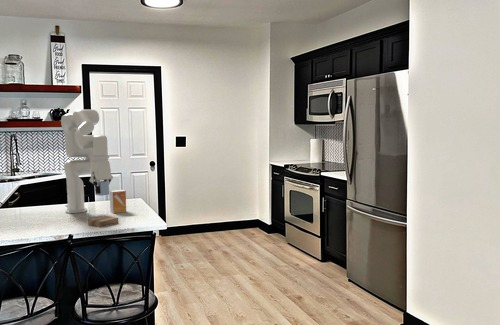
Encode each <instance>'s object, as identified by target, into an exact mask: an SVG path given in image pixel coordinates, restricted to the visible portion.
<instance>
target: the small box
mask: <svg viewBox="0 0 500 325" xmlns="http://www.w3.org/2000/svg"><path fill="white" fill-rule="evenodd" d="M126 191H127V190H125V189H115V190H109V208H110V213H113V214H117V213H118V214H119V213H126V212H127V192H126Z"/></svg>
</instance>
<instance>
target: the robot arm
mask: <svg viewBox="0 0 500 325" xmlns="http://www.w3.org/2000/svg"><path fill="white" fill-rule="evenodd" d="M99 122H100V115H99V112H98V111H97V110H95V109H76V110H75V111H73V113H66V114H64V115H62V116H61V119H60V123H61V125H60V126H61V128H62V130H63V132H64V133H63V134H64V140H65V152H66V153H65V154H66V156H67V157H68V158H70V159H71V158H72V160H67V161H66V162H65V163H64V165H63V167H64V168H63V169H64V173H65V178H66V193H67V195H66V196H67V204H66V205H65V207H66V208H67V209H65V213H67V214H80V213H85V212H87V211H88V208H87V207H85V190H84V189H85V188H84V187H85V186H84V181H83V180H82V178H81V177H80V176H86V175H90V178H89V182H90V183H91V184H92V185H93V186H94V191H95V192H94V193H96V194H100V186H99V183H100V181H109V185H110V184H111V182H112V180H114V176H113V175H112V171H111V163H110V160H109V159H110V156H109V153H108V152H109V151H108V150H109V149H108V137H107V135H103V134H91V133H93V131H94V129H95V126H96V125H97V124H99ZM78 158H84V159H78Z"/></svg>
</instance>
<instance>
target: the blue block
mask: <svg viewBox="0 0 500 325" xmlns="http://www.w3.org/2000/svg"><path fill="white" fill-rule="evenodd" d="M99 186H100V194H96V193H95V192H94V193H95V194H94V195H95V196H100V197H102V196H107V195H109V196H110V184H109V181H104V180H100V183H99Z"/></svg>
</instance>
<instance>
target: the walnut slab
mask: <svg viewBox="0 0 500 325" xmlns="http://www.w3.org/2000/svg"><path fill="white" fill-rule="evenodd" d="M116 224H119V217H116V216H109V215H101V216H97V217H93V218H89V219H87V225H88V226H92V227H99V228H103V227H109V226H112V225H116Z"/></svg>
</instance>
